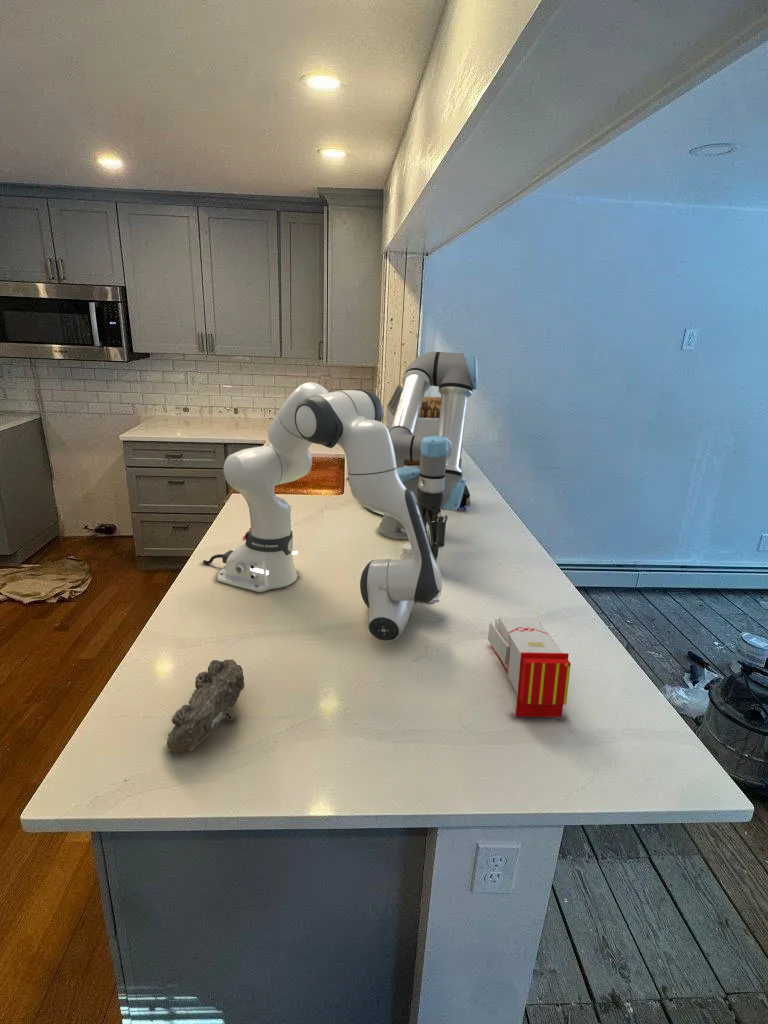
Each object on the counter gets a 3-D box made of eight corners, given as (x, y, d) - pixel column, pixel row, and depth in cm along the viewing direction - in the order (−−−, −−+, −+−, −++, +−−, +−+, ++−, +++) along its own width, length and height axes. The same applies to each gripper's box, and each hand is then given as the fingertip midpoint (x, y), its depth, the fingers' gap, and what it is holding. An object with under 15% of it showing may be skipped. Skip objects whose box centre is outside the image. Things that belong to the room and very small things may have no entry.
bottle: (398, 601, 154) (401, 550, 149) (396, 593, 158) (399, 543, 153) (415, 601, 154) (418, 549, 149) (412, 593, 159) (415, 543, 153)
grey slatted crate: (382, 463, 289) (386, 382, 275) (445, 464, 293) (451, 384, 279) (390, 482, 257) (394, 392, 243) (460, 483, 261) (468, 394, 247)
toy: (534, 602, 136) (579, 659, 107) (529, 653, 139) (572, 723, 110) (484, 601, 136) (516, 658, 107) (480, 652, 139) (510, 722, 109)
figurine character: (470, 515, 225) (465, 499, 238) (472, 498, 221) (467, 483, 235) (453, 515, 224) (449, 499, 238) (455, 497, 221) (451, 482, 234)
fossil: (192, 660, 117) (244, 628, 112) (224, 691, 120) (276, 661, 115) (142, 746, 98) (202, 712, 93) (182, 779, 101) (242, 748, 96)
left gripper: (439, 592, 139) (446, 569, 152) (359, 581, 143) (372, 559, 156) (437, 615, 141) (444, 590, 154) (358, 603, 145) (371, 579, 158)
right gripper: (401, 483, 170) (397, 555, 178) (442, 500, 156) (436, 576, 164) (420, 480, 174) (415, 550, 182) (462, 496, 161) (454, 571, 168)
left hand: (407, 574), depth 155 cm, fingers closed on bottle, 4 cm apart
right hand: (425, 562), depth 173 cm, fingers closed on lid, 5 cm apart
